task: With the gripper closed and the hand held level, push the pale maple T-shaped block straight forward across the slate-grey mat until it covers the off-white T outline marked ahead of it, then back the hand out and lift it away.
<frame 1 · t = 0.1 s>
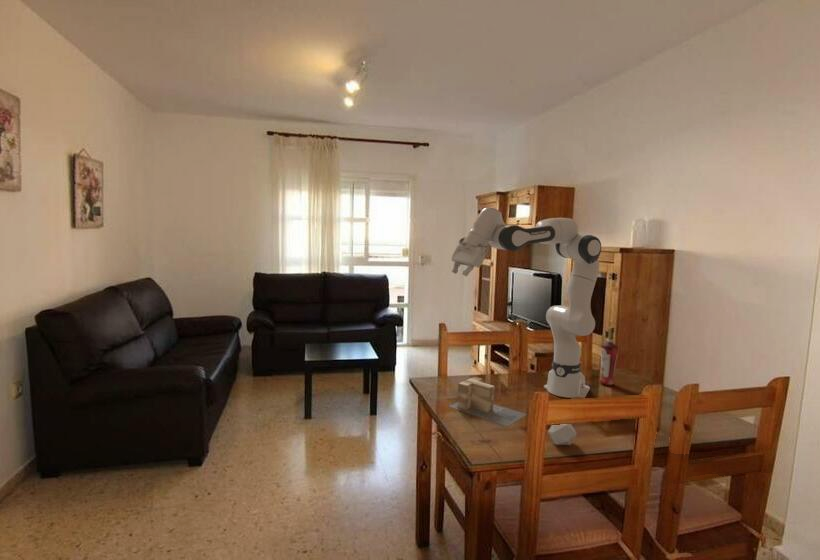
hand: (459, 274, 186), 54 cm above the table, tool tilted 30°, fingers open, 8 cm apart
t mat: (487, 410, 187), on the table
liquor: (606, 384, 226), on the table
die: (561, 443, 161), on the table
t block: (477, 407, 190), resting on t mat
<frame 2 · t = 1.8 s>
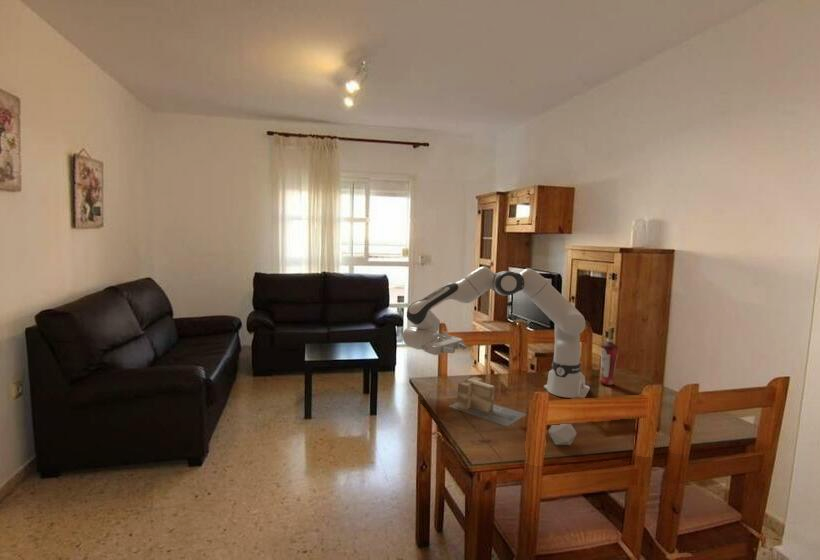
hand: (459, 349, 194), 22 cm above the table, tool horizontal, fingers open, 7 cm apart
nothing on the table moved.
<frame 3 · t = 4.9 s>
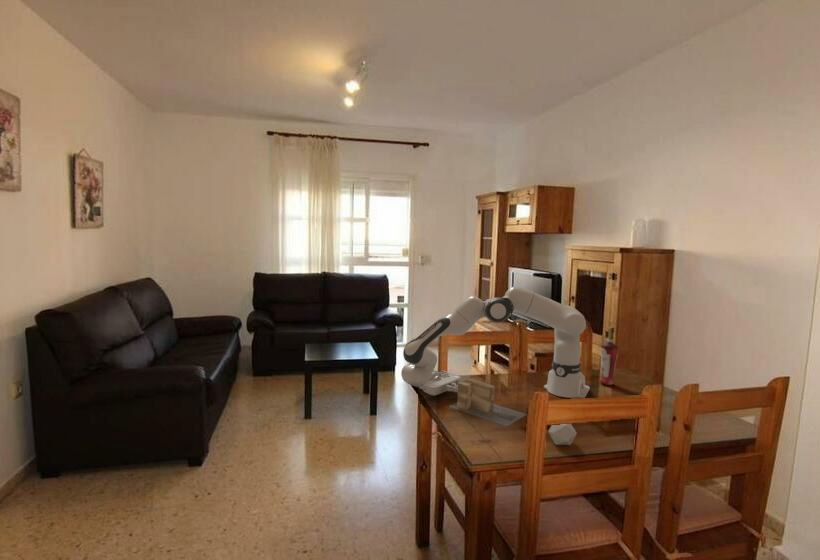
hand: (457, 389, 196), 5 cm above the table, tool horizontal, fingers closed
nothing on the table moved.
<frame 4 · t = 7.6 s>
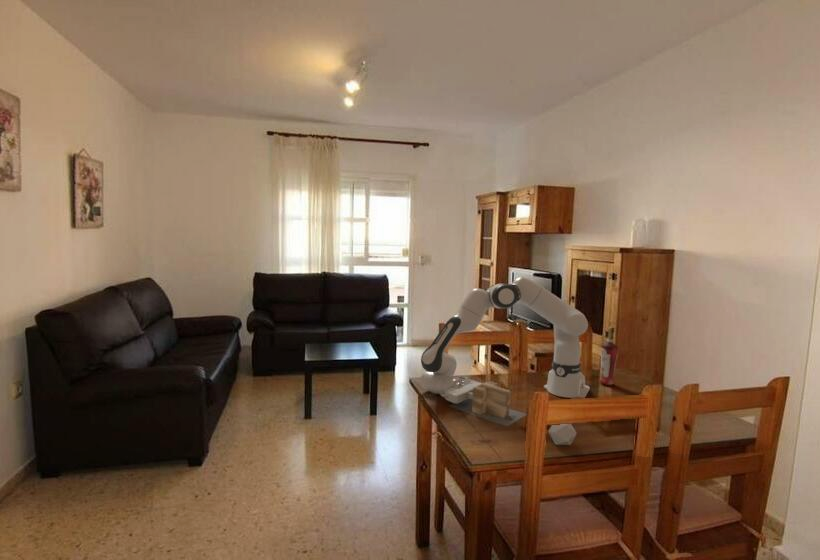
hand: (480, 396, 189), 5 cm above the table, tool horizontal, fingers closed, pressing on t block
t block: (492, 412, 186), resting on t mat, touching gripper
everything else where it was.
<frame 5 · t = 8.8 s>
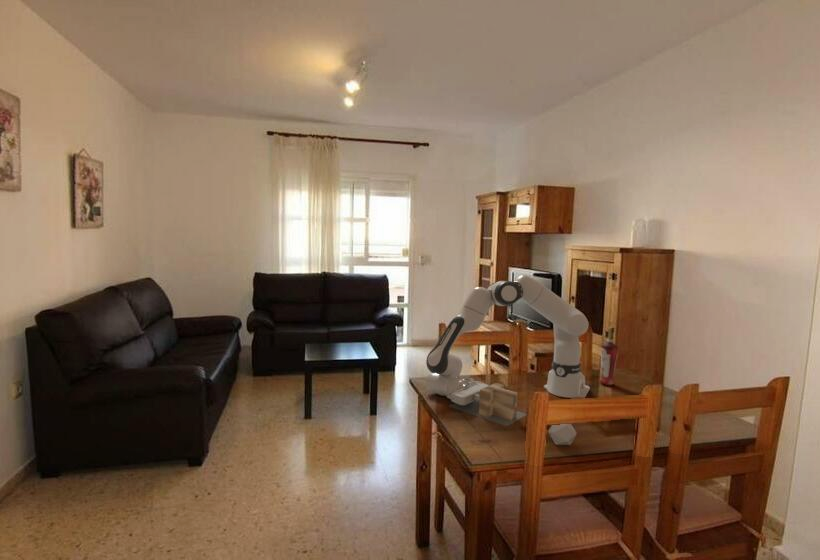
hand: (487, 398, 187), 5 cm above the table, tool horizontal, fingers closed, pressing on t block
t block: (499, 414, 183), resting on t mat, touching gripper
everything else where it was.
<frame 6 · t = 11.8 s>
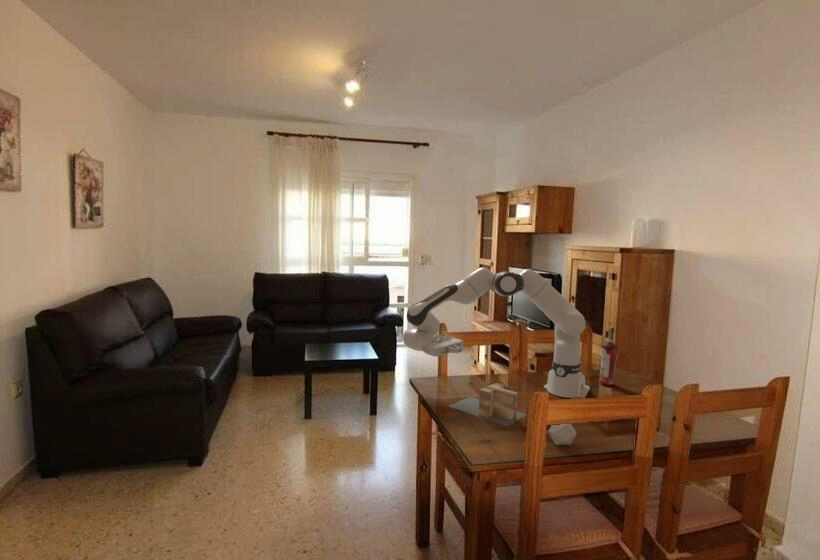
hand: (460, 350, 194), 22 cm above the table, tool horizontal, fingers closed
t block: (499, 414, 183), resting on t mat
everything else where it was.
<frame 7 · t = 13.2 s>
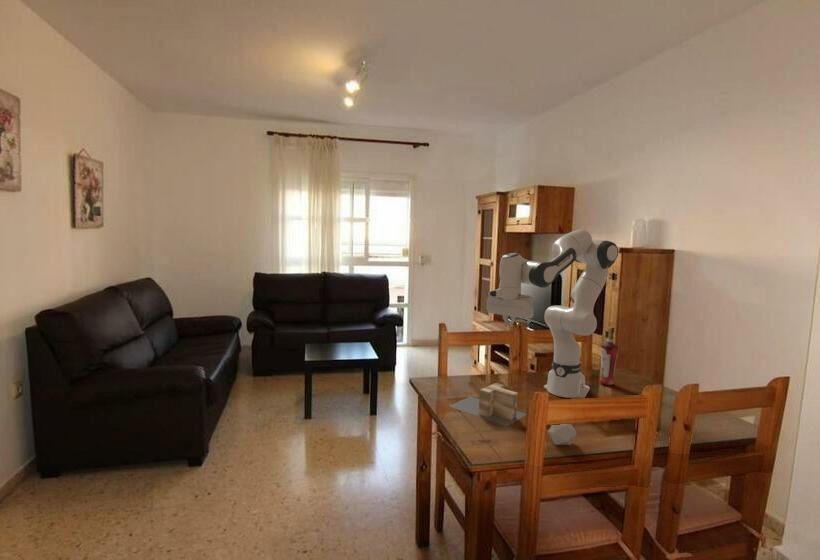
hand: (509, 326, 192), 33 cm above the table, tool pointing down, fingers closed
nothing on the table moved.
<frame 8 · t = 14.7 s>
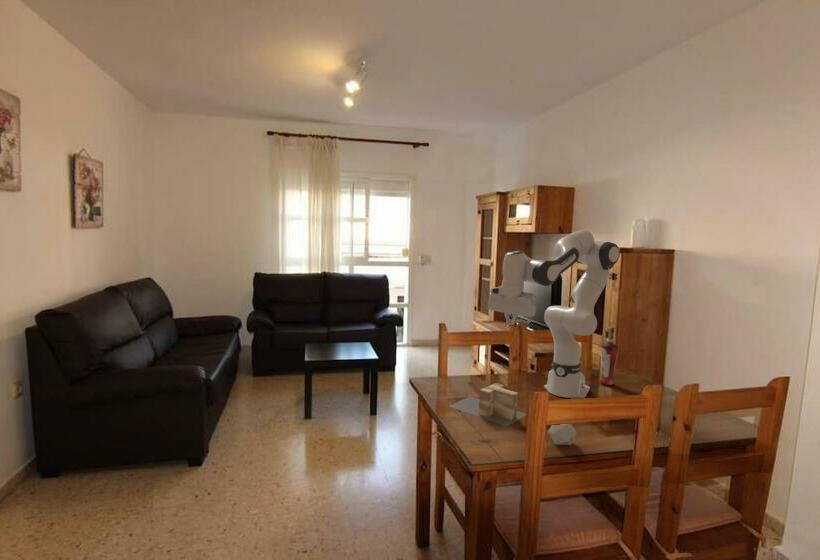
hand: (510, 324, 192), 34 cm above the table, tool pointing down, fingers closed
nothing on the table moved.
at the end: t block 0.2 cm from the target spot, resting on t mat; t block tilted 0° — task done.
